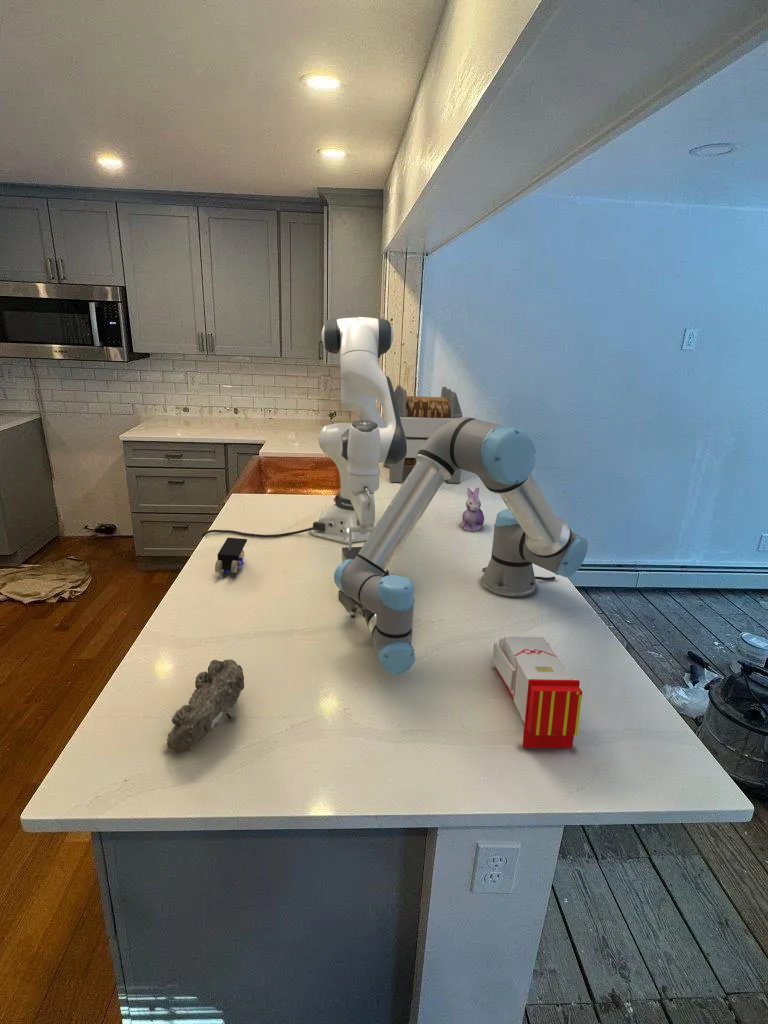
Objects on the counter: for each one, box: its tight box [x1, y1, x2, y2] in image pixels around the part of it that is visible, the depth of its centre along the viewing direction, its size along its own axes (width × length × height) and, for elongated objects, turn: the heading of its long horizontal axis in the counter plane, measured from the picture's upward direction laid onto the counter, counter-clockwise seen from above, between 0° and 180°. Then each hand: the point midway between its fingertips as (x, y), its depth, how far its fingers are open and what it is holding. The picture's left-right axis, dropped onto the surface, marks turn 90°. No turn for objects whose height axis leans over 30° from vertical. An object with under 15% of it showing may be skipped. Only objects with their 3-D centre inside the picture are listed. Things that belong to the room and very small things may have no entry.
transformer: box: [383, 384, 463, 484], centre depth 268 cm, size 34×33×41 cm
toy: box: [491, 636, 583, 749], centre depth 115 cm, size 12×13×30 cm
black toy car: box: [214, 537, 248, 578], centre depth 166 cm, size 7×8×15 cm
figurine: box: [461, 486, 485, 532], centre depth 206 cm, size 9×10×15 cm
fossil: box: [166, 658, 245, 754], centre depth 106 cm, size 22×10×15 cm
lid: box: [341, 525, 390, 576], centre depth 153 cm, size 17×10×8 cm, turn 11°
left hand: (361, 529), depth 158 cm, fingers open, 4 cm apart
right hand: (367, 579), depth 150 cm, fingers closed on chest, 10 cm apart
